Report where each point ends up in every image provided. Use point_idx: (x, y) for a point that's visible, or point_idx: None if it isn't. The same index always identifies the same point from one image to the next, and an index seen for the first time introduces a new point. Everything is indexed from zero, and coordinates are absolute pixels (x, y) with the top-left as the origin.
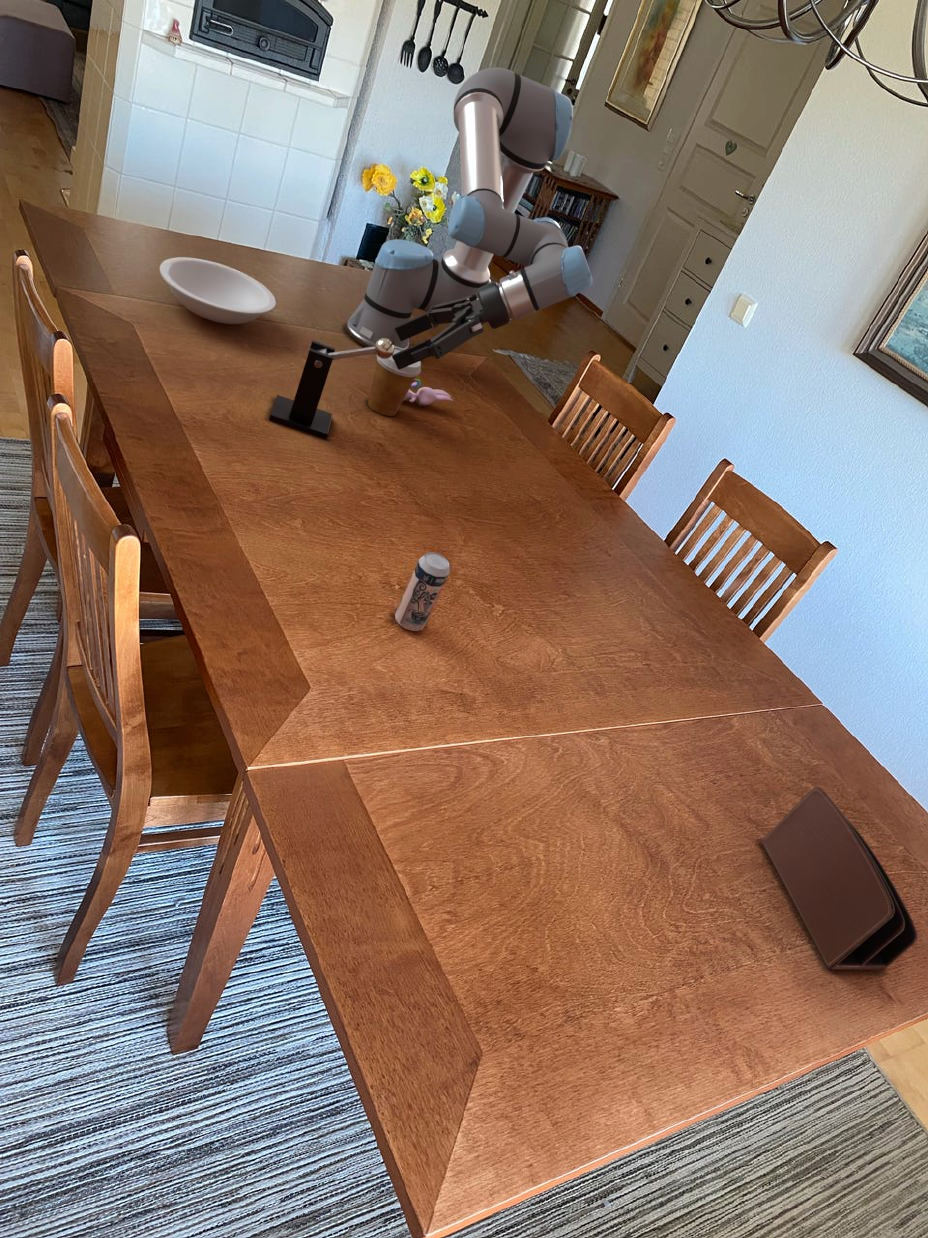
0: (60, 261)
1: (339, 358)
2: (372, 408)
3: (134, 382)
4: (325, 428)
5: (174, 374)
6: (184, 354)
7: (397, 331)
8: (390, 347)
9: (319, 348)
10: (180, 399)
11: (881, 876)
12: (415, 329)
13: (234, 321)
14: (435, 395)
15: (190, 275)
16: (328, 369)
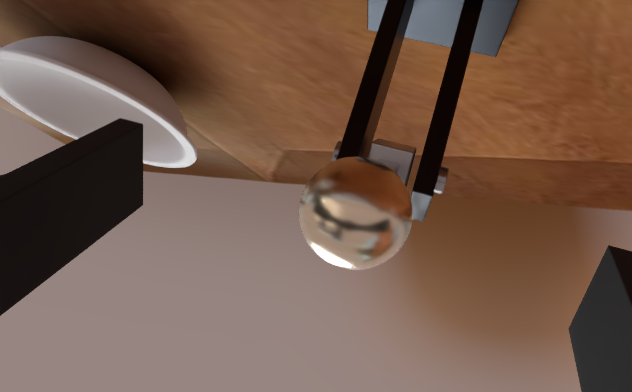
0: (204, 171)
1: (396, 170)
2: None
3: (474, 177)
4: None
5: (405, 139)
6: (316, 118)
7: (140, 188)
8: (386, 247)
9: None
10: (496, 147)
11: None
12: (64, 204)
13: (145, 79)
14: None
15: (81, 112)
16: (443, 155)
